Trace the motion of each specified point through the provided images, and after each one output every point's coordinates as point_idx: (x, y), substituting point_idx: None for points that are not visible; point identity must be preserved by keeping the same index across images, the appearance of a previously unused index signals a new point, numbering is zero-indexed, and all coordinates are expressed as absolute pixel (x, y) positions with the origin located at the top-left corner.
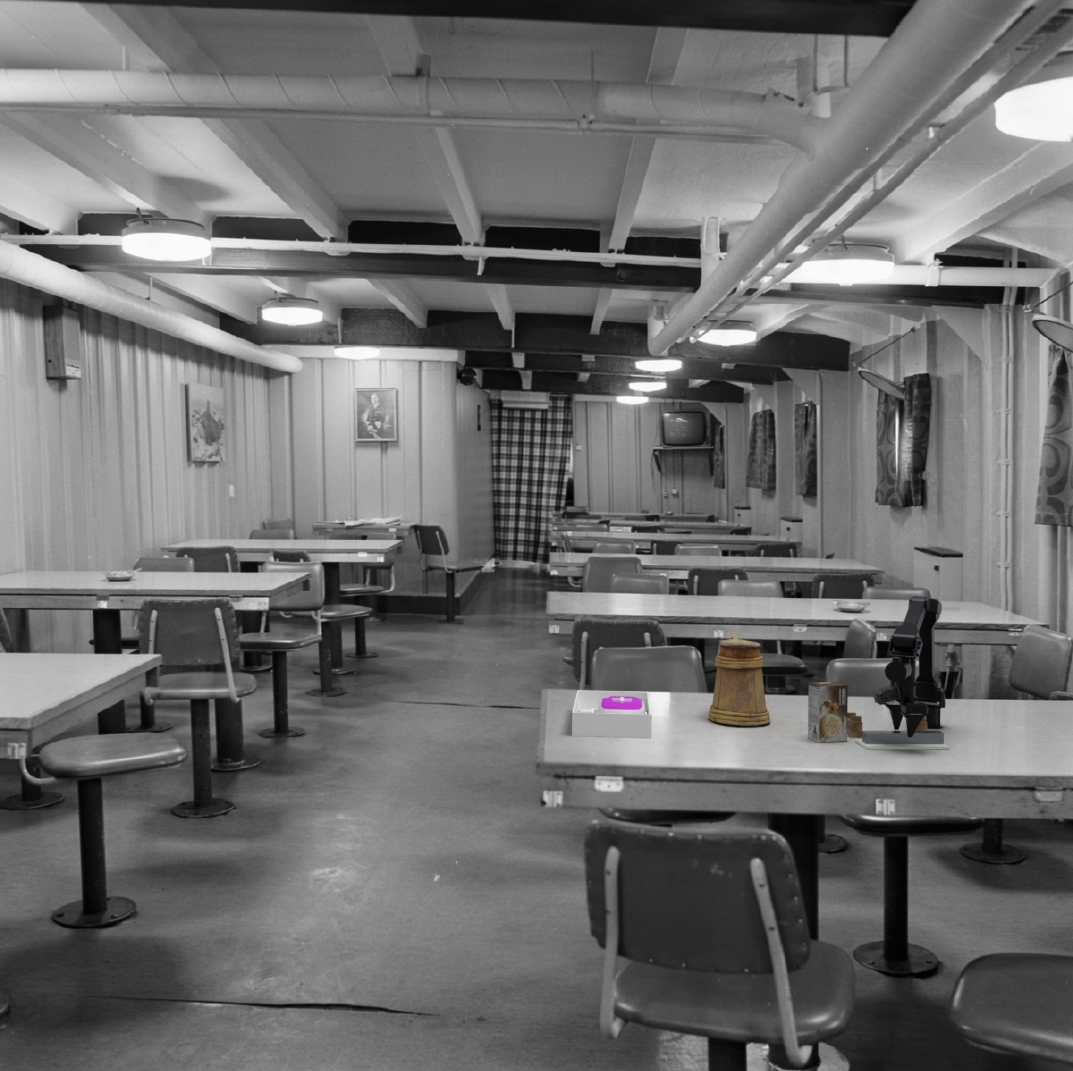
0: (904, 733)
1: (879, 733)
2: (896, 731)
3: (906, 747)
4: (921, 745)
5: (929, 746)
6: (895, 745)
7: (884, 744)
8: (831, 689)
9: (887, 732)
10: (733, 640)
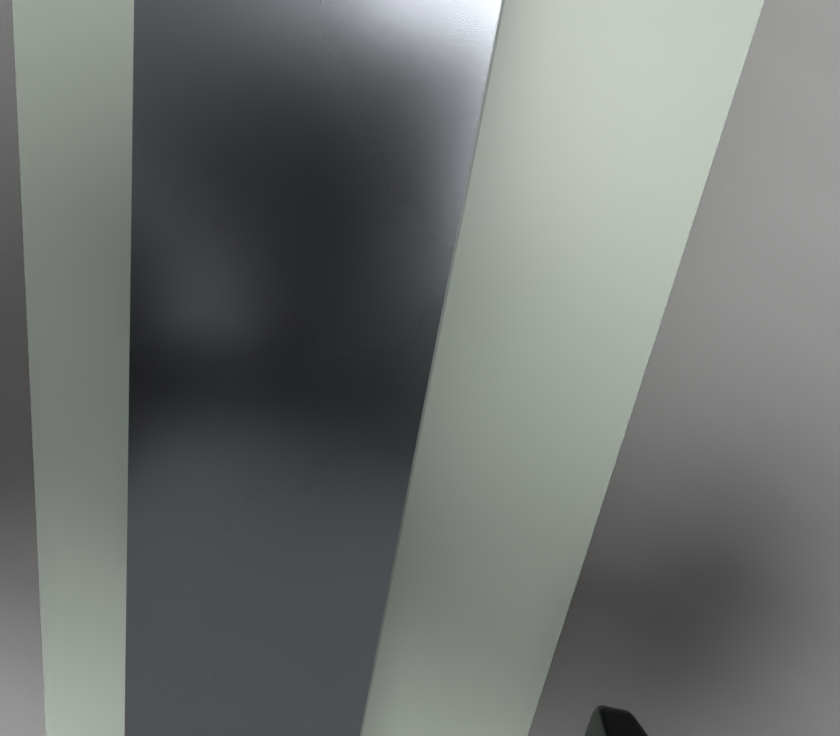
0: (133, 641)
1: (144, 7)
2: (301, 587)
3: (39, 430)
4: (111, 675)
5: (51, 728)
6: (112, 303)
7: None
8: None
9: (210, 312)
10: None
